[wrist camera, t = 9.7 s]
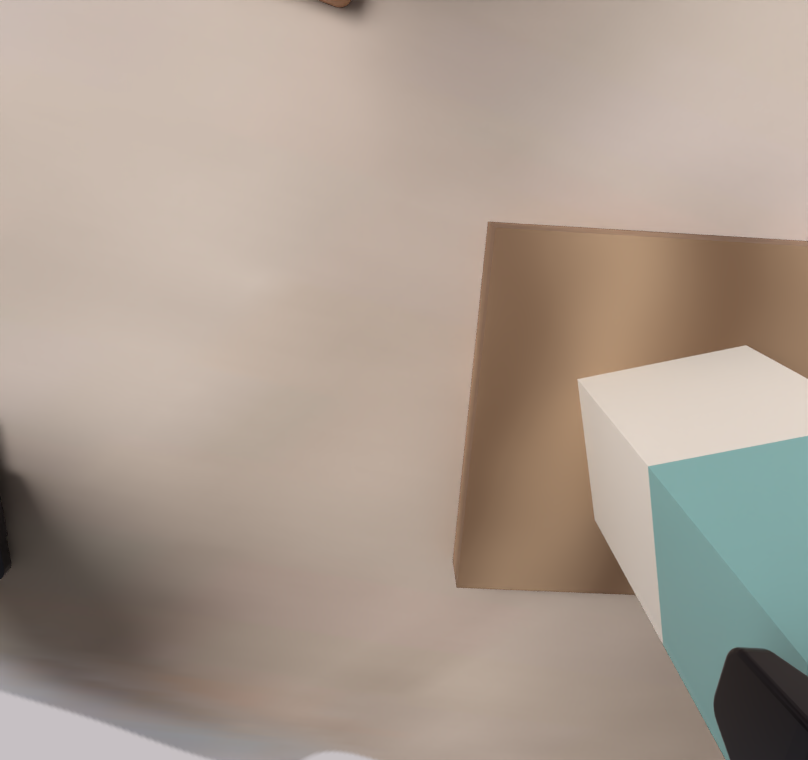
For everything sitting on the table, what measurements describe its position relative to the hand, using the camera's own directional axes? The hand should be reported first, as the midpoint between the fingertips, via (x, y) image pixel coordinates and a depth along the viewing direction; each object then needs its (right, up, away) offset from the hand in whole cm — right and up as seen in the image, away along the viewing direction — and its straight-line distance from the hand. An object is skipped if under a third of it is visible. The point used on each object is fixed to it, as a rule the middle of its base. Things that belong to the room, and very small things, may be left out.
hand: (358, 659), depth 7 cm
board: (+9, +2, +13) cm, 16 cm away
